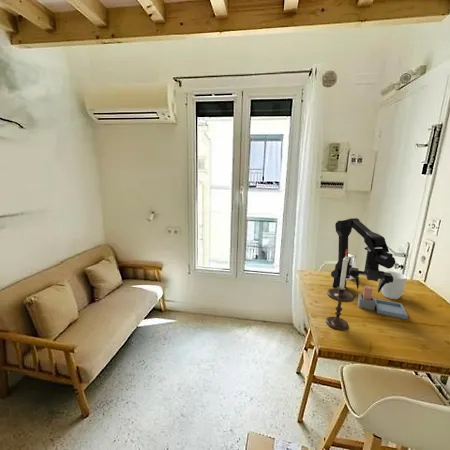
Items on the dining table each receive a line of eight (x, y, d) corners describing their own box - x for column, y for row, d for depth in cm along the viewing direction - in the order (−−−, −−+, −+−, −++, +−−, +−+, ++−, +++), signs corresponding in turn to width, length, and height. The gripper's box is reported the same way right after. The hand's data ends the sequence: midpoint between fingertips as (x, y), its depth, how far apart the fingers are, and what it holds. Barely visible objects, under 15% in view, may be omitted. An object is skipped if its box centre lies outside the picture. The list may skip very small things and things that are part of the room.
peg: (362, 306, 133) (365, 288, 131) (361, 303, 136) (364, 285, 134) (369, 307, 132) (372, 289, 130) (368, 304, 135) (371, 286, 133)
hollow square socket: (358, 308, 132) (360, 299, 131) (357, 302, 138) (358, 293, 137) (373, 311, 130) (375, 301, 129) (371, 304, 136) (373, 296, 135)
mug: (386, 288, 155) (389, 267, 153) (407, 296, 147) (412, 274, 144) (375, 295, 146) (379, 273, 143) (398, 304, 138) (402, 280, 135)
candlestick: (344, 334, 110) (356, 254, 103) (319, 323, 117) (328, 248, 110) (353, 324, 118) (365, 249, 111) (329, 314, 125) (338, 243, 118)
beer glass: (354, 280, 166) (358, 257, 163) (343, 279, 167) (346, 256, 164) (352, 276, 172) (355, 254, 169) (340, 275, 174) (343, 253, 171)
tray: (377, 314, 127) (378, 309, 126) (373, 303, 138) (374, 298, 137) (406, 320, 123) (407, 315, 122) (400, 308, 134) (401, 303, 133)
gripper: (352, 263, 125) (348, 293, 128) (398, 269, 118) (392, 301, 122) (351, 256, 135) (347, 284, 138) (393, 261, 128) (387, 291, 132)
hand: (367, 290), depth 132 cm, fingers open, 9 cm apart
